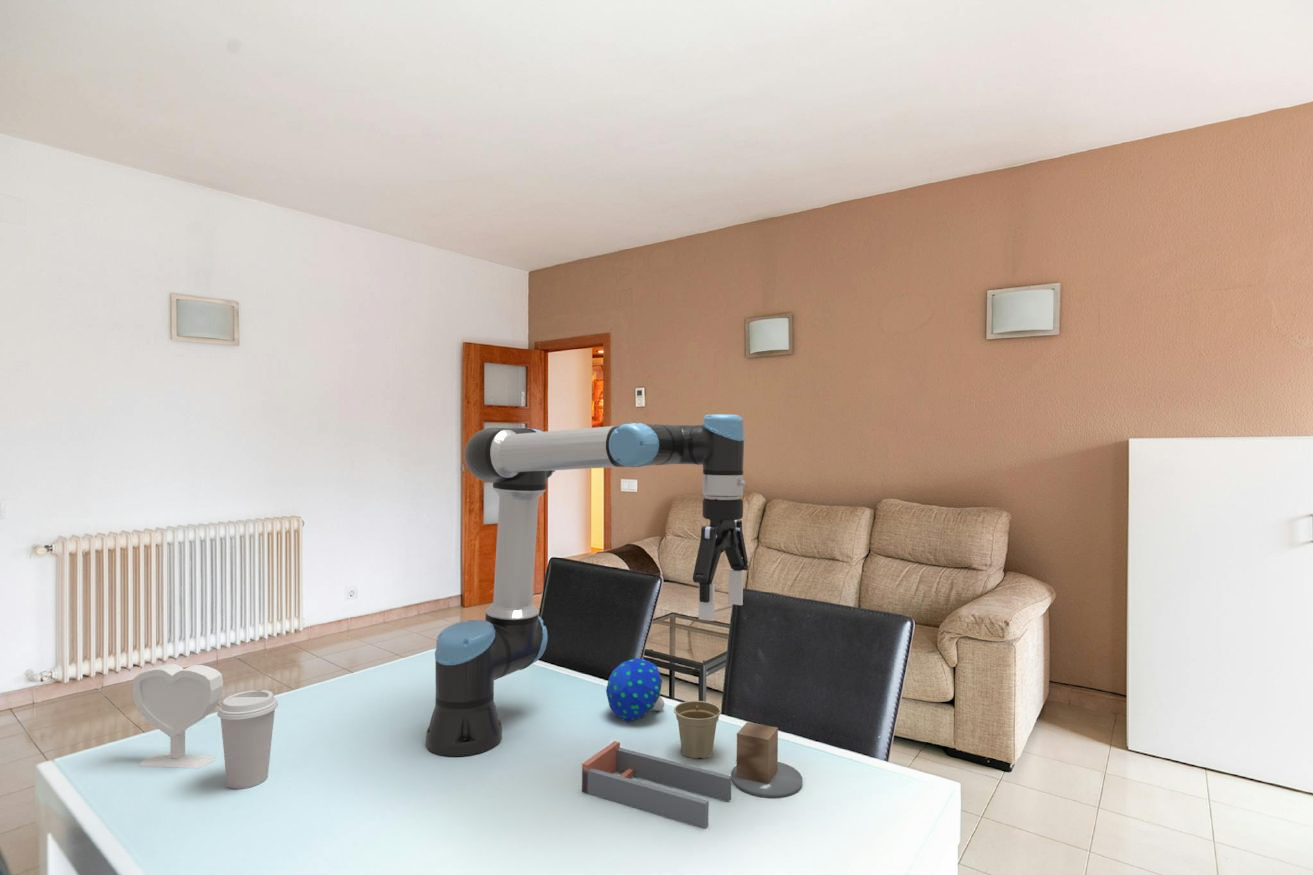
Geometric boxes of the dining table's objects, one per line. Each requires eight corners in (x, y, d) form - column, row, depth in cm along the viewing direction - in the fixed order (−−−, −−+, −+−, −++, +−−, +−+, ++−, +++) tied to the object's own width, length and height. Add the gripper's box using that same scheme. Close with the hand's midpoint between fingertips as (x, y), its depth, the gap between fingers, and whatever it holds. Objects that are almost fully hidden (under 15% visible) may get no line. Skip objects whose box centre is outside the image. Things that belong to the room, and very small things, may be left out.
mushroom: (691, 678, 163) (647, 647, 156) (671, 739, 155) (624, 710, 148) (651, 675, 173) (608, 646, 166) (630, 733, 165) (584, 705, 159)
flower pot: (717, 765, 136) (718, 720, 136) (669, 760, 138) (670, 716, 138) (723, 744, 146) (723, 702, 146) (677, 740, 148) (678, 698, 148)
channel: (581, 791, 126) (582, 763, 126) (614, 767, 135) (614, 740, 135) (705, 828, 114) (705, 797, 114) (731, 798, 124) (731, 770, 124)
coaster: (719, 786, 128) (719, 782, 128) (746, 758, 140) (746, 754, 140) (789, 805, 122) (789, 800, 122) (811, 773, 133) (811, 769, 133)
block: (736, 776, 130) (736, 733, 130) (746, 763, 136) (747, 721, 136) (768, 784, 128) (768, 739, 128) (777, 770, 133) (777, 727, 133)
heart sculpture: (128, 765, 134) (129, 670, 134) (148, 753, 139) (149, 661, 139) (207, 768, 133) (208, 672, 133) (225, 756, 138) (226, 664, 138)
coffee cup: (289, 772, 132) (290, 692, 132) (244, 797, 123) (245, 710, 123) (250, 764, 135) (251, 685, 135) (203, 787, 126) (204, 703, 126)
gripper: (714, 503, 119) (712, 630, 119) (765, 493, 141) (763, 600, 141) (674, 501, 123) (672, 624, 123) (730, 492, 145) (728, 596, 145)
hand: (721, 611), depth 132 cm, fingers open, 13 cm apart
